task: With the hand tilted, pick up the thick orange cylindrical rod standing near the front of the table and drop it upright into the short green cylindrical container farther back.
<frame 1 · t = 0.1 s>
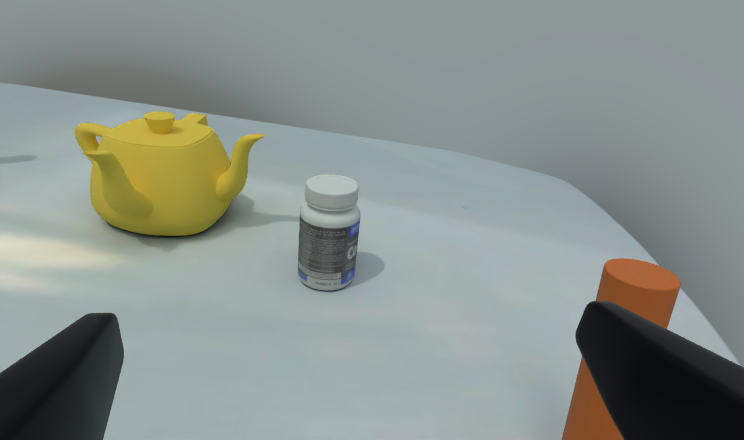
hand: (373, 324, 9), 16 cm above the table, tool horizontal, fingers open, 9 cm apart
teapot: (174, 219, 44), on the table
pill bottle: (326, 277, 38), on the table
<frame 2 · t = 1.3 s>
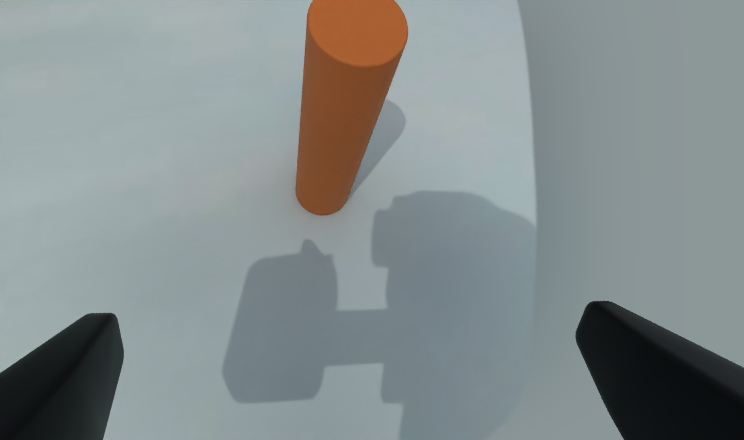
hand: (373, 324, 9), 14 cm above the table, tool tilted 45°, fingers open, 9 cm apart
orange cylindrical rod: (322, 190, 24), on the table
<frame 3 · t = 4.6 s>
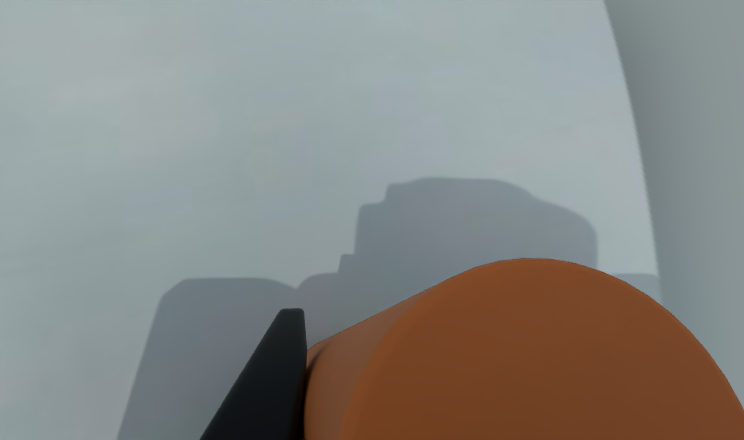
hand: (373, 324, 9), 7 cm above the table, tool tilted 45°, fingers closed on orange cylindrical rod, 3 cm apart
orange cylindrical rod: (336, 383, 14), on the table, touching gripper
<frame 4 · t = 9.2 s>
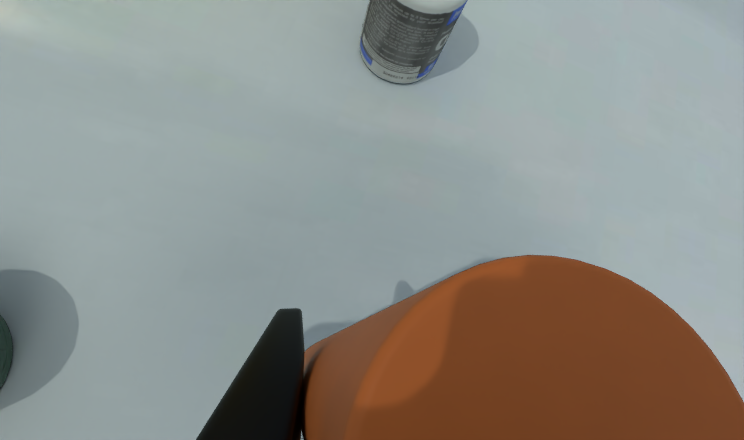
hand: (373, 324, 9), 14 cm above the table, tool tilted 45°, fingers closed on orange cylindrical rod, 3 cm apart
orange cylindrical rod: (335, 383, 14), point 7 cm above the table, touching gripper
pill bottle: (396, 53, 27), on the table
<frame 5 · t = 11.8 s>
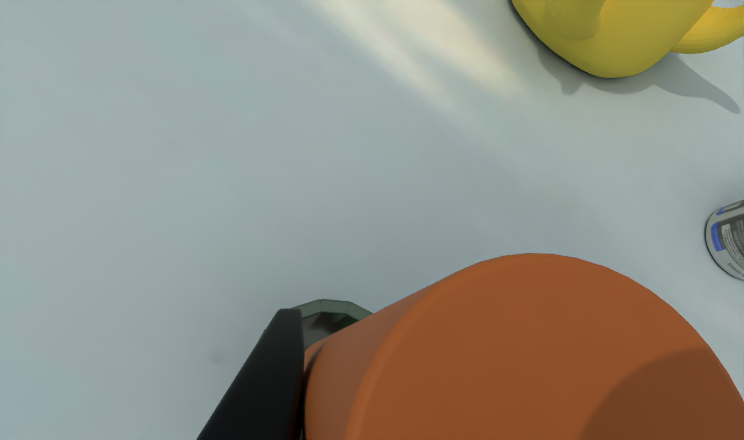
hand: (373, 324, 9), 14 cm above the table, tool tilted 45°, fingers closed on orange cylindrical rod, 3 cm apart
green cylindrical container: (316, 375, 21), on the table
teapot: (581, 24, 31), on the table
orange cylindrical rod: (335, 382, 14), point 7 cm above the table, touching gripper
pill bottle: (733, 244, 28), on the table
when the fingers open (9 cm above the table, at t = 13.8 s): orange cylindrical rod drops 2 cm, resting on green cylindrical container.
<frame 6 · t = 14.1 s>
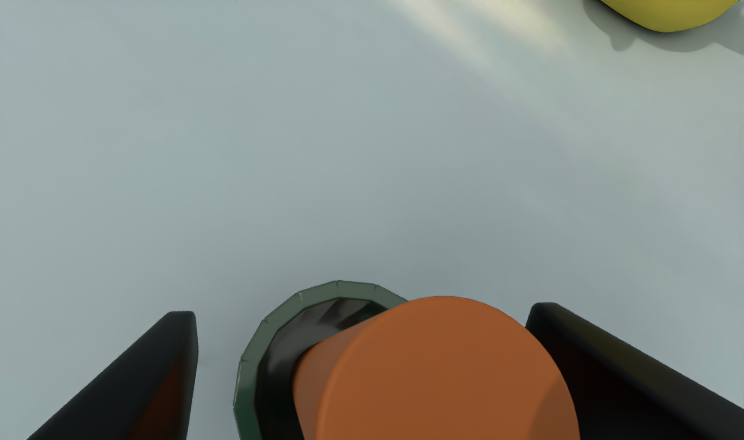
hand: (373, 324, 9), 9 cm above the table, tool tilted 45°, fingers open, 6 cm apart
green cylindrical container: (327, 380, 17), on the table
orange cylindrical rod: (329, 380, 16), resting on green cylindrical container
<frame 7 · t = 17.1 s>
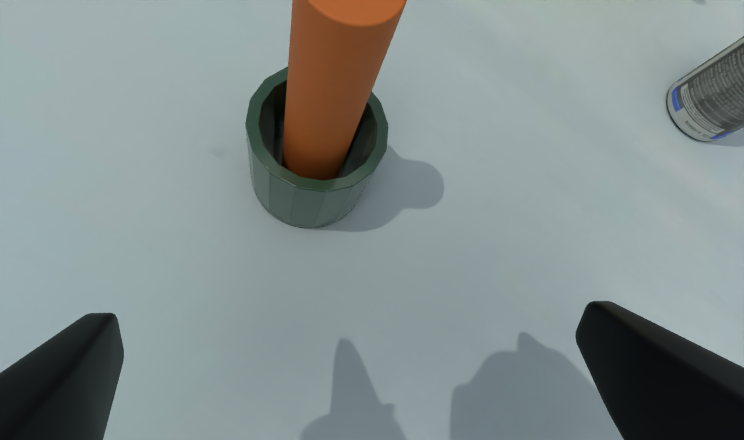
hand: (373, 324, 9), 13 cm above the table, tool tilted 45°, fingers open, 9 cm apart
green cylindrical container: (308, 175, 23), on the table
orange cylindrical rod: (309, 171, 23), resting on green cylindrical container
pill bottle: (692, 112, 30), on the table
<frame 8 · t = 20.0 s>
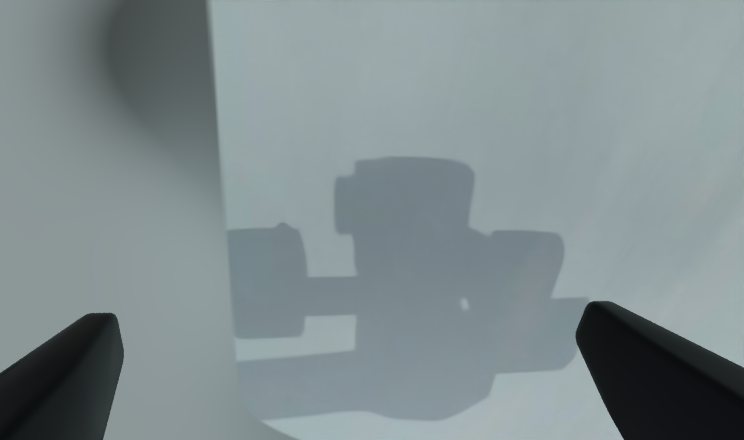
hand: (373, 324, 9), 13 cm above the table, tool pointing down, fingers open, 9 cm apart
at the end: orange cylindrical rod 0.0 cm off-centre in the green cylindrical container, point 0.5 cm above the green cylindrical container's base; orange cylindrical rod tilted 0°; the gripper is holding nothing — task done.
